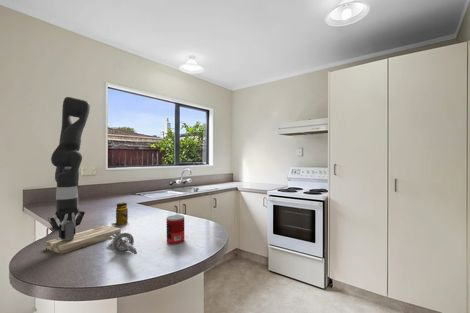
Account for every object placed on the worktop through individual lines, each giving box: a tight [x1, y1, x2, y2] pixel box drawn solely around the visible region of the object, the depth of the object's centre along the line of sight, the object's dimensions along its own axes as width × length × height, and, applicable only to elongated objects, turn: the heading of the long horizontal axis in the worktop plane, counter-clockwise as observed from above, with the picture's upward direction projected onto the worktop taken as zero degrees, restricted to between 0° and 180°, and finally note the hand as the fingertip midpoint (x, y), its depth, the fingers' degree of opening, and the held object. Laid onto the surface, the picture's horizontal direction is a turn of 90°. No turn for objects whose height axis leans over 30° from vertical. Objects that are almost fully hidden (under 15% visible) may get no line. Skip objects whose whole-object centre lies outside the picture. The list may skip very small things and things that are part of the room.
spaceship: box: [110, 232, 138, 255], centre depth 92 cm, size 8×35×8 cm
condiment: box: [110, 202, 130, 228], centre depth 133 cm, size 7×8×12 cm
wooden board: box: [45, 225, 122, 255], centre depth 106 cm, size 12×26×3 cm, turn 152°
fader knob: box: [61, 222, 74, 241], centre depth 99 cm, size 4×3×8 cm
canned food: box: [166, 214, 185, 245], centre depth 104 cm, size 8×8×11 cm
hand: (67, 237), depth 99 cm, fingers closed on fader knob, 3 cm apart
